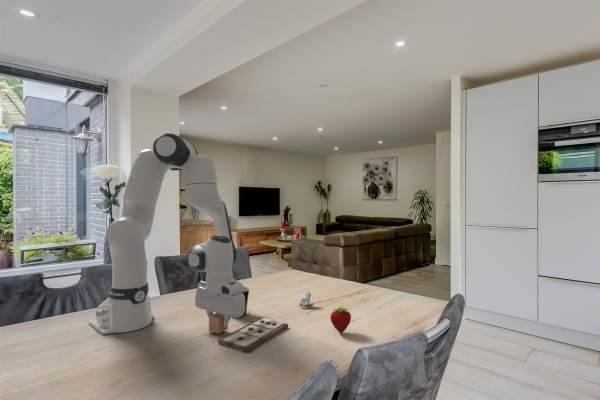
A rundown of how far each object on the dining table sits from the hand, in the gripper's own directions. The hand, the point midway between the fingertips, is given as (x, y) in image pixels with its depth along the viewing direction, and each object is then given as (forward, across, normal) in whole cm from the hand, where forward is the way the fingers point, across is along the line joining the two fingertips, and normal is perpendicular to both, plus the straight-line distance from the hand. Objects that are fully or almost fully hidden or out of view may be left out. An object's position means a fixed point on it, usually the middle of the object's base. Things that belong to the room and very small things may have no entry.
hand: (218, 325), depth 106 cm
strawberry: (+2, +36, +21) cm, 42 cm away
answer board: (+2, +12, +5) cm, 13 cm away
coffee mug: (+3, -6, +18) cm, 19 cm away
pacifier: (+2, +12, +39) cm, 41 cm away
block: (+2, 0, 0) cm, 2 cm away
